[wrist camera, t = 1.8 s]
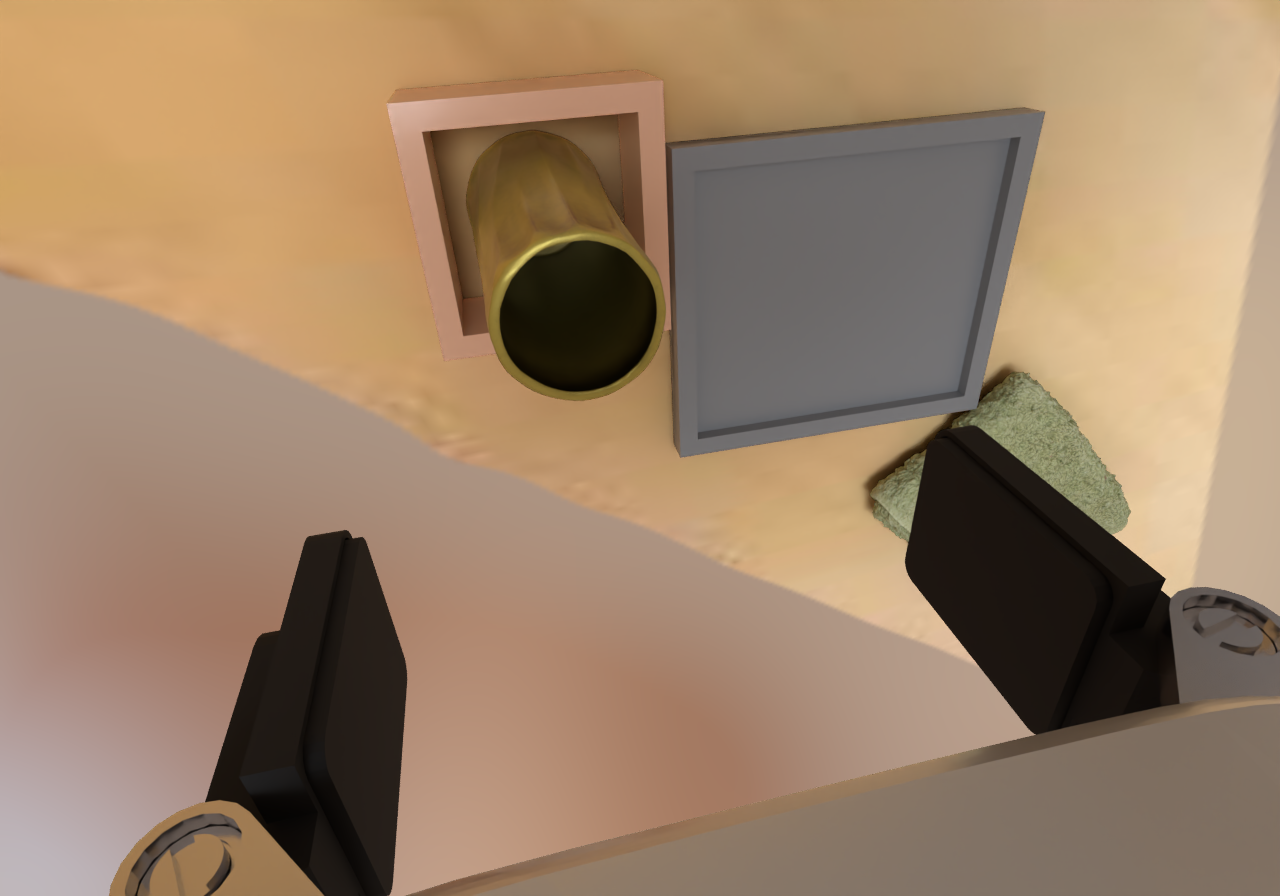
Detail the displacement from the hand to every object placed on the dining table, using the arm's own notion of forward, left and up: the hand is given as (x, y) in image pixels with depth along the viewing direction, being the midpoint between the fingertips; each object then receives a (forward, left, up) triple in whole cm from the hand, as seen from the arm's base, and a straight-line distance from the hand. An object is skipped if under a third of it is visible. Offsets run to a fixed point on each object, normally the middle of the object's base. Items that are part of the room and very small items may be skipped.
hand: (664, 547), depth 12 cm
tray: (-15, +6, -25) cm, 30 cm away
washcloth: (-28, +22, -25) cm, 43 cm away
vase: (0, 0, -25) cm, 25 cm away
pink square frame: (0, 0, -25) cm, 25 cm away
